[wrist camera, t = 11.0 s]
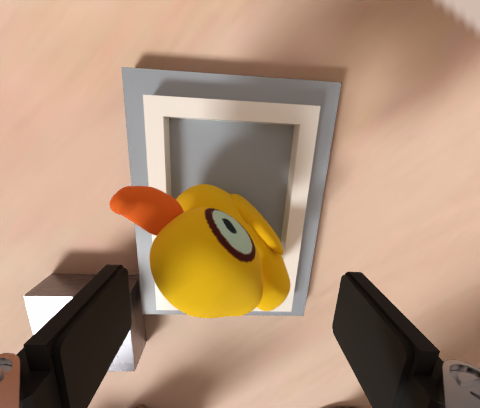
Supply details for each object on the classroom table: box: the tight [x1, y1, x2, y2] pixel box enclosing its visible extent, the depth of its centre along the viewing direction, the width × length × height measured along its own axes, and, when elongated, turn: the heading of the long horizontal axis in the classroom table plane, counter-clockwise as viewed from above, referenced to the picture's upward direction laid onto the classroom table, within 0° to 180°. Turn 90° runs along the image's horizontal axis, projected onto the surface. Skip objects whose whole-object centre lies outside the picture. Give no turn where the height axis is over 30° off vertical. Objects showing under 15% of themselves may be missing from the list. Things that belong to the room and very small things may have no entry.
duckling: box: [110, 184, 291, 318], centre depth 14 cm, size 11×5×10 cm, turn 45°
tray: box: [122, 67, 342, 316], centre depth 18 cm, size 15×20×3 cm
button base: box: [23, 274, 146, 371], centre depth 21 cm, size 8×8×3 cm
